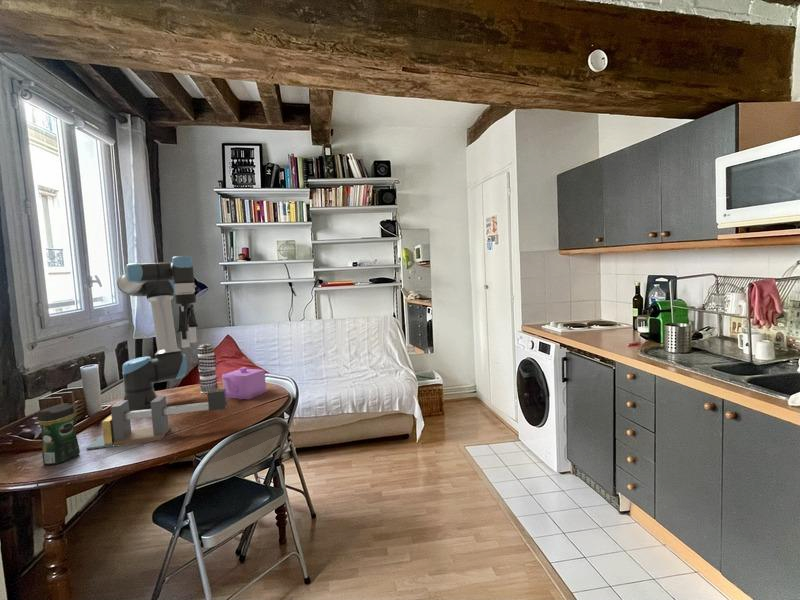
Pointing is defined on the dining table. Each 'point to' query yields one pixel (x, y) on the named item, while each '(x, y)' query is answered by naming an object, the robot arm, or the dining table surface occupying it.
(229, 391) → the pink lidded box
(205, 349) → the decorative candle
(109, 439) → the spacer
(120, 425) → the bracket
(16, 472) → the dining table surface
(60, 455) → the coffee jar
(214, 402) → the shaft
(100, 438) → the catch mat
